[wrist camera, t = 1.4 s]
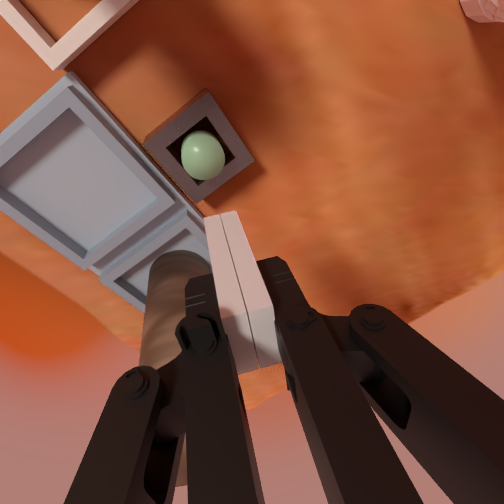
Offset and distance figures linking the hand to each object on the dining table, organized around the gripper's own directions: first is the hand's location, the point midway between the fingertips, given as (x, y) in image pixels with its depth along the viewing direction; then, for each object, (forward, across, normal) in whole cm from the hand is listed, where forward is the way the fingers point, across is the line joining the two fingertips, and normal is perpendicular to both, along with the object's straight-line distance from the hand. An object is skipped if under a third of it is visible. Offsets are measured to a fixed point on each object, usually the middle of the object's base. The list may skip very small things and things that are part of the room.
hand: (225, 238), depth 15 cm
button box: (+18, 0, 0) cm, 18 cm away
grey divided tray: (+18, -9, -7) cm, 22 cm away
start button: (+16, 0, 0) cm, 16 cm away
